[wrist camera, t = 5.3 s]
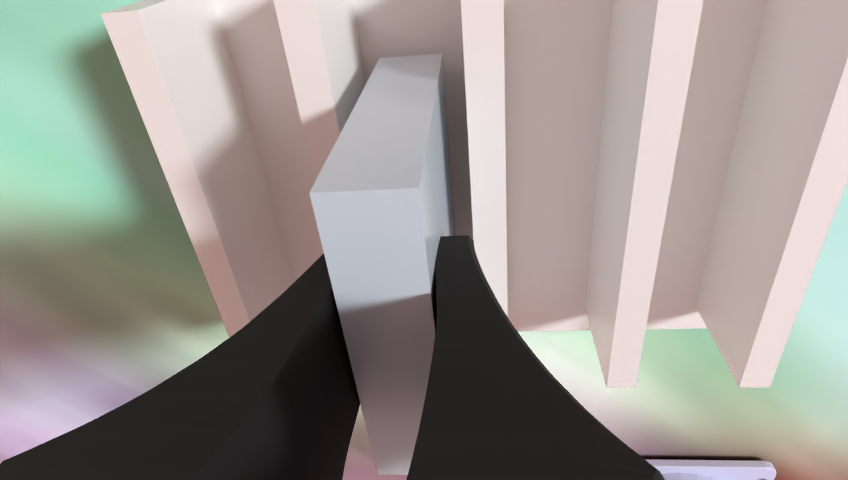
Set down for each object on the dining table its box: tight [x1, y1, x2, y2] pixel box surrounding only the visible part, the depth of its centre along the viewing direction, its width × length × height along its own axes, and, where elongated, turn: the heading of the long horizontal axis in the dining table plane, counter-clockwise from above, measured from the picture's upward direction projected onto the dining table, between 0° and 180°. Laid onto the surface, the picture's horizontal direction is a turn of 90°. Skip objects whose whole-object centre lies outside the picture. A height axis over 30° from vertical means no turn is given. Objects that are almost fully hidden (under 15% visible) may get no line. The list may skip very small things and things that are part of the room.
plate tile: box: [309, 53, 455, 475], centre depth 12 cm, size 7×2×7 cm, turn 5°
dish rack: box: [101, 0, 848, 388], centre depth 15 cm, size 13×16×4 cm
